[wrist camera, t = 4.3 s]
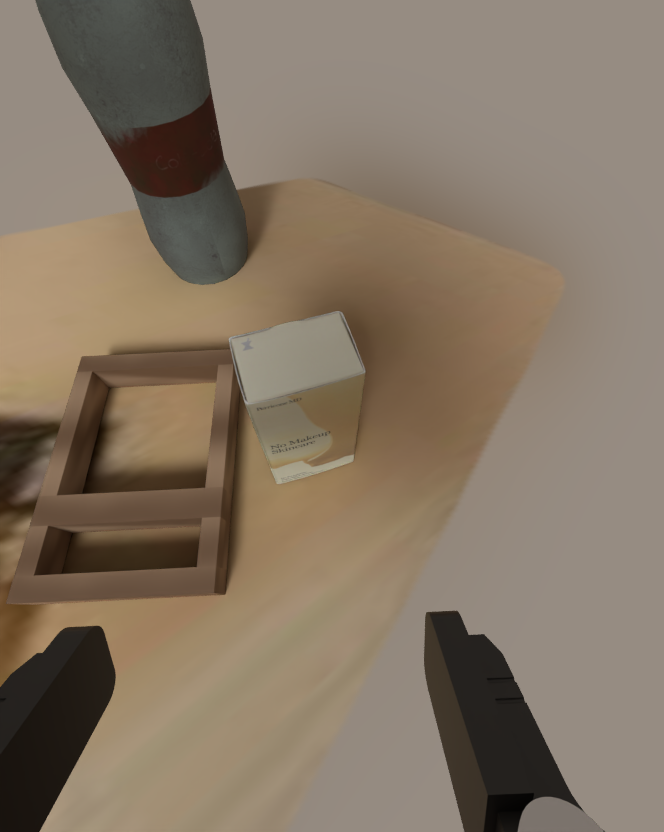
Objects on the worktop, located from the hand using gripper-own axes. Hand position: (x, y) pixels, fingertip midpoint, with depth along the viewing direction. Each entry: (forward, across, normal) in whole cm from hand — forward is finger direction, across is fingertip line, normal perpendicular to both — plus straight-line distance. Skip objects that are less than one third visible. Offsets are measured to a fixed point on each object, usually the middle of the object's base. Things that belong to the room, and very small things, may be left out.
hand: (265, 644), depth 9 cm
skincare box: (+20, 0, +3) cm, 21 cm away
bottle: (+36, +10, -13) cm, 39 cm away
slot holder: (+19, +12, +4) cm, 23 cm away
